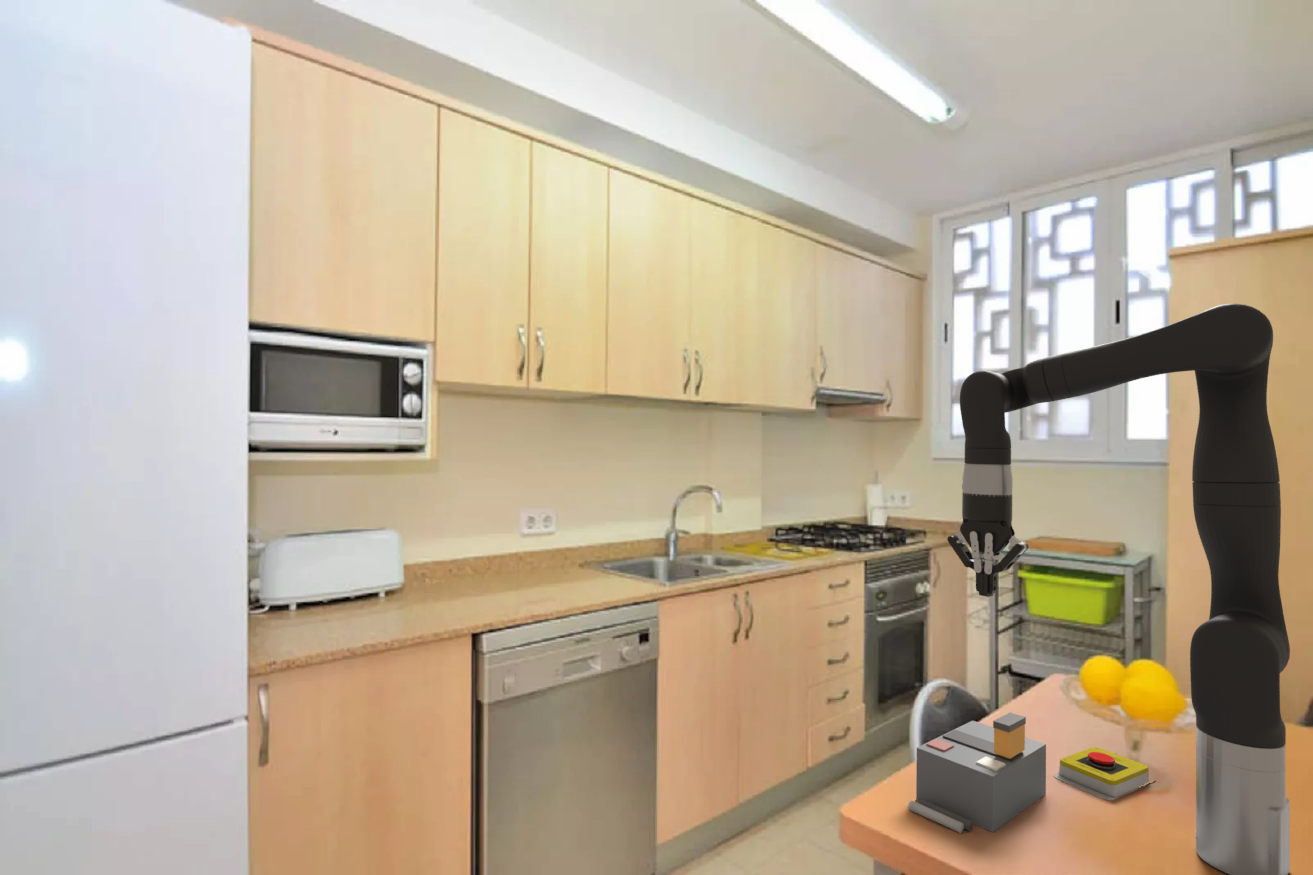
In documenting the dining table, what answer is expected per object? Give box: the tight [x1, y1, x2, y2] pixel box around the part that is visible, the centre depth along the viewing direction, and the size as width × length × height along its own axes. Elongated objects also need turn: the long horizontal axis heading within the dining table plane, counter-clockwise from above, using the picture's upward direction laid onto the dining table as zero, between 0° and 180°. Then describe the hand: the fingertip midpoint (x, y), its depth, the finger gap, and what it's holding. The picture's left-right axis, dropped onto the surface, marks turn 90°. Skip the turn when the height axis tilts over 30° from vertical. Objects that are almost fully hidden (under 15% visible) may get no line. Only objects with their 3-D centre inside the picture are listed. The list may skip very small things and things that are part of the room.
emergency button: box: [1053, 746, 1150, 801], centre depth 116 cm, size 9×4×15 cm
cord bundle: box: [907, 799, 974, 834], centre depth 102 cm, size 9×3×1 cm, turn 39°
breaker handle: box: [992, 712, 1027, 759], centre depth 106 cm, size 2×6×5 cm, turn 129°
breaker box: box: [915, 720, 1047, 833], centre depth 110 cm, size 12×18×8 cm, turn 129°
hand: (985, 595), depth 114 cm, fingers closed
